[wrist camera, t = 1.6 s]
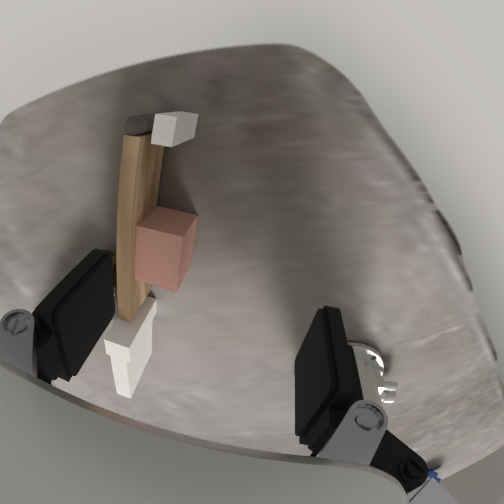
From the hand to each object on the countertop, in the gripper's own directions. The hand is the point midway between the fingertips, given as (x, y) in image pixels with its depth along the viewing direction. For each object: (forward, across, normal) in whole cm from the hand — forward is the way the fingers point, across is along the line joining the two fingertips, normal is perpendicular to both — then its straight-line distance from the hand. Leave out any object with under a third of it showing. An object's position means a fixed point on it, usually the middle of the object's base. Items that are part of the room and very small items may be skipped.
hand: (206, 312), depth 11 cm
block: (+20, +7, +8) cm, 23 cm away
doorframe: (+20, +9, +11) cm, 25 cm away
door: (+20, +10, +6) cm, 23 cm away
